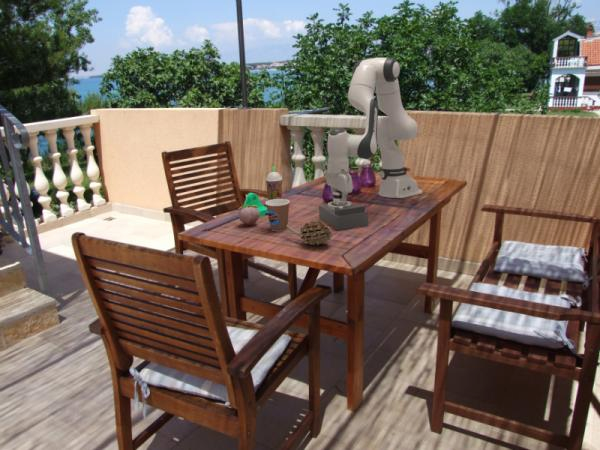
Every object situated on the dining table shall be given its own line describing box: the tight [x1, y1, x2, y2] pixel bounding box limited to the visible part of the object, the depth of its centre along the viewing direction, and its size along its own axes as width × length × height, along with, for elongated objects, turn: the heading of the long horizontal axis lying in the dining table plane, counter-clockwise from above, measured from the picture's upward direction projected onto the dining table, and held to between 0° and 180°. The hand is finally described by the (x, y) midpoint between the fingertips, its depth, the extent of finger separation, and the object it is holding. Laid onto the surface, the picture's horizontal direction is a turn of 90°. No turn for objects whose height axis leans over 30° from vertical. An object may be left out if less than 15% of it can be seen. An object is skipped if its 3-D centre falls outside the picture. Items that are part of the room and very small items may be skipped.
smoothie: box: [265, 165, 283, 201], centre depth 255 cm, size 8×8×20 cm
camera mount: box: [242, 192, 268, 218], centre depth 243 cm, size 12×8×10 cm, turn 129°
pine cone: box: [286, 219, 333, 246], centre depth 202 cm, size 22×10×10 cm, turn 56°
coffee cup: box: [265, 198, 291, 232], centre depth 220 cm, size 10×10×12 cm
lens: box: [332, 189, 347, 206], centre depth 228 cm, size 6×6×10 cm
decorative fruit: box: [237, 203, 260, 226], centre depth 228 cm, size 9×8×10 cm
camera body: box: [318, 200, 369, 231], centre depth 226 cm, size 14×20×9 cm
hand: (339, 198), depth 227 cm, fingers open, 8 cm apart
